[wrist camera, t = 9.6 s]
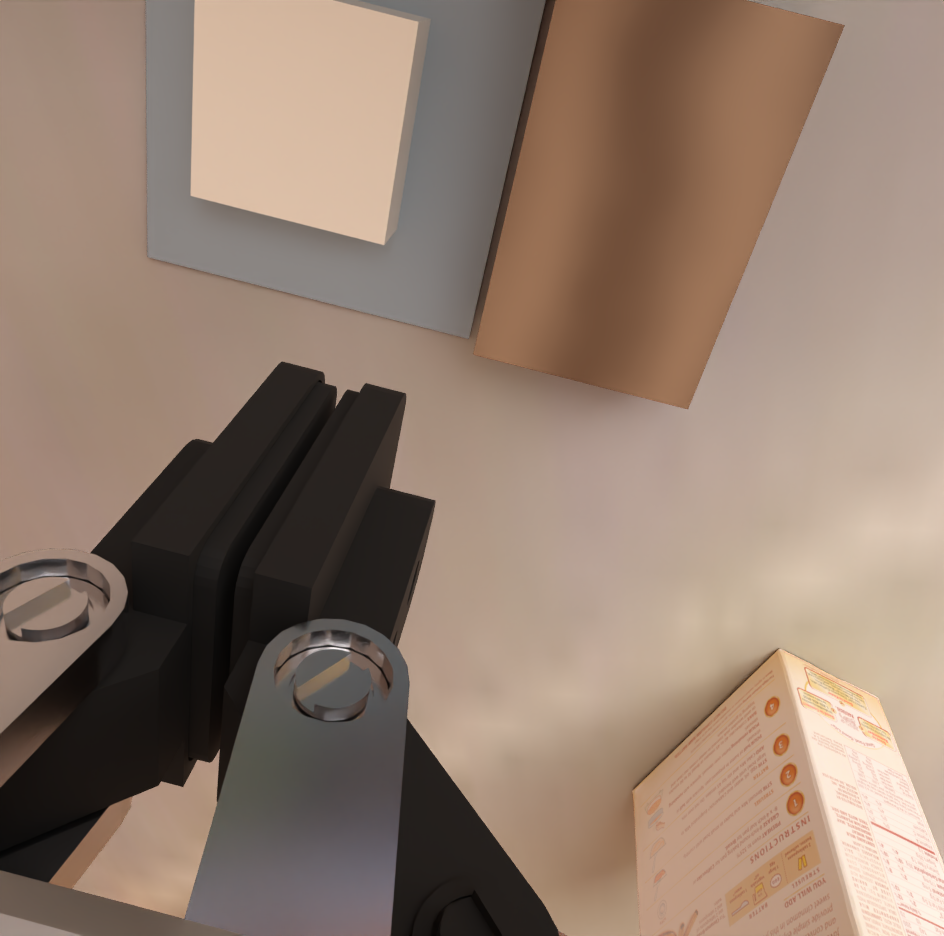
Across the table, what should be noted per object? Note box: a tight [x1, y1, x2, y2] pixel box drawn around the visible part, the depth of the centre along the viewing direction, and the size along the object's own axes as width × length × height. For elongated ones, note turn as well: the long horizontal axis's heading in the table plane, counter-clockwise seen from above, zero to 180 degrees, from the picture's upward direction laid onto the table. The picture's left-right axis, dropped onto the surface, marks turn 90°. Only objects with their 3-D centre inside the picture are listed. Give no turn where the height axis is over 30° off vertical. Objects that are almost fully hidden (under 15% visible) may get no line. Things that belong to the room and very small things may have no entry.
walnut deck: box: [473, 0, 845, 409], centre depth 31 cm, size 9×14×4 cm, turn 168°
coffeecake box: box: [632, 649, 944, 936], centre depth 40 cm, size 15×7×20 cm, turn 153°
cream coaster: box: [191, 0, 431, 245], centre depth 31 cm, size 8×8×2 cm
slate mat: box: [146, 0, 546, 339], centre depth 32 cm, size 15×16×1 cm
